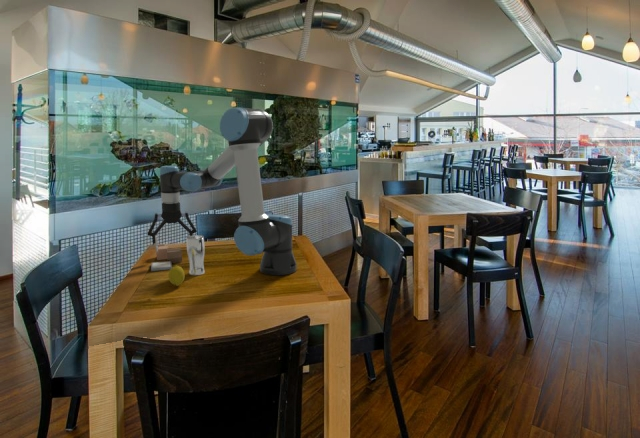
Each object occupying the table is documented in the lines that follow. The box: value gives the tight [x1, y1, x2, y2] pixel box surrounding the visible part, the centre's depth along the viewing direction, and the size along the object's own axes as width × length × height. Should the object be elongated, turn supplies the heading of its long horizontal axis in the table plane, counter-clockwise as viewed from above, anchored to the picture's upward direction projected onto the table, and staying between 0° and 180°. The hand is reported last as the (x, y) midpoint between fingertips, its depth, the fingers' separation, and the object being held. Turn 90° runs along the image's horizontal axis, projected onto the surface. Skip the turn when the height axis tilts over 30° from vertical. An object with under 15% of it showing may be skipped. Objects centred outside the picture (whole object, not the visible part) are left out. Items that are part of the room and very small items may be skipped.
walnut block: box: [166, 247, 183, 264], centre depth 187 cm, size 6×6×5 cm
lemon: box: [168, 265, 186, 287], centre depth 156 cm, size 6×6×8 cm
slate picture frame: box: [150, 260, 173, 272], centre depth 179 cm, size 9×8×1 cm
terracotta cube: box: [155, 245, 169, 261], centre depth 191 cm, size 5×5×5 cm
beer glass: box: [186, 234, 206, 276], centre depth 170 cm, size 7×7×15 cm
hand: (173, 249), depth 187 cm, fingers open, 13 cm apart
